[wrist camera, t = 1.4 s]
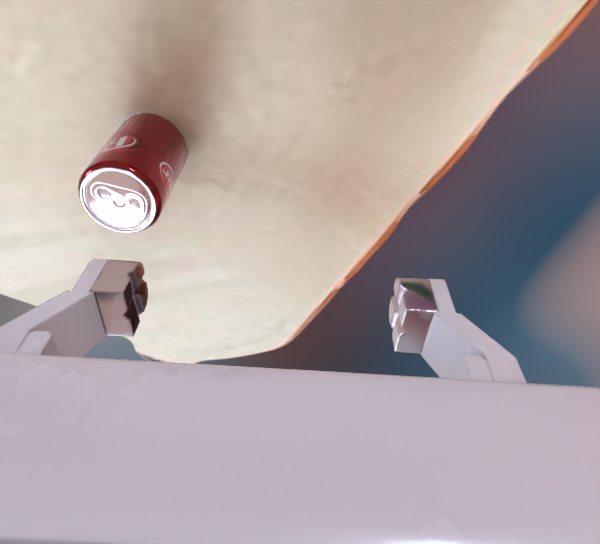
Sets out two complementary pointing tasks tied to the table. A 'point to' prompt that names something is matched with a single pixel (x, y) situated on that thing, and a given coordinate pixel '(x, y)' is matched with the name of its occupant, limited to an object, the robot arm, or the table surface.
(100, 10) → the table surface
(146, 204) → the soda can
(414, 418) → the robot arm
